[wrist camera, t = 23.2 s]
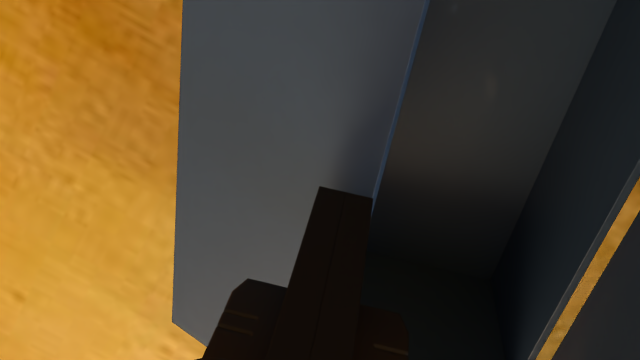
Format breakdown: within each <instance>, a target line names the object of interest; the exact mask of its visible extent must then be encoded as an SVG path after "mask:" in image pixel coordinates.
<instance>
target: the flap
mask: <svg viewBox="0 0 640 360" xmlns="http://www.w3.org/2000/svg"><path fill="white" fill-rule="evenodd" d="M429 2H430V0H183V12H182V42H181V72H180V101H179V131H178V161H177V190H176V220H175V250H174V279H173V309H172V322H173V323H174V324H176V325H177V326H178V327H180V328H181V329H183V330H184V331H185V332H187V333H188V334H190V335H191V336H192V337H194V338H195V339H197V340H198V341H199V342H201V343H202V344H204V345H205V346H206V347H207V346H208V344H209V342H210V340H211V337H212V335H213V333H214V331H215V328H216V327H217V324H218V322H219V319H220V317H221V315H222V313H223V312H224V308H225V306H226V304H227V302H228V299H229V297H230V295H231V293H232V291H233V290H234V289H235V288H237V287H238V286H239V285H240V284H241V283H243V282H244V281H245V280H246V279H247V278H249V279H253V280H257V281H262V282H266V283H270V284H274V285H278V286H282V287H288V284H289V281H290V277H291V274H292V271H293V268H294V265H295V262H296V258H297V255H298V252H299V249H300V246H301V242H302V239H303V236H304V233H305V230H306V227H307V223H308V220H309V217H310V214H311V211H312V207H313V204H314V201H315V198H316V195H317V192H318V188H319V186H322V187H326V188H330V189H335V190H339V191H343V192H348V193H352V194H356V195H361V196H365V197H369V198H373V205H372V212H373V209H374V205H375V201H376V197H377V194H378V190H379V186H380V183H381V179H382V175H383V172H384V168H385V164H386V161H387V157H388V153H389V150H390V146H391V142H392V139H393V135H394V131H395V127H396V124H397V120H398V116H399V113H400V109H401V105H402V102H403V98H404V94H405V91H406V87H407V83H408V80H409V76H410V72H411V69H412V65H413V61H414V58H415V54H416V50H417V46H418V43H419V39H420V35H421V32H422V28H423V24H424V21H425V17H426V13H427V10H428V6H429ZM371 216H372V213H371Z"/></svg>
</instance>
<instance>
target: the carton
mask: <svg viewBox="0 0 640 360" xmlns="http://www.w3.org/2000/svg"><path fill="white" fill-rule="evenodd" d="M639 177H640V0H430V2H429V6H428V10H427V13H426V17H425V21H424V24H423V28H422V32H421V35H420V39H419V43H418V46H417V50H416V54H415V58H414V61H413V65H412V69H411V72H410V76H409V80H408V83H407V87H406V91H405V94H404V98H403V102H402V105H401V109H400V113H399V116H398V120H397V124H396V127H395V131H394V135H393V139H392V142H391V146H390V150H389V153H388V157H387V161H386V164H385V168H384V172H383V175H382V179H381V183H380V186H379V190H378V194H377V197H376V201H375V205H374V209H373V212H372V216H371V221H370V229H369V237H368V244H367V252H366V260H365V268H364V275H363V283H362V291H361V299H360V304H363V305H367V306H371V307H376V308H380V309H384V310H388V311H392V312H396V313H400V315H401V317H402V319H403V321H404V323H405V325H406V328H407V330H408V332H409V353H408V356H409V360H535V359H536V358H537V356H538V354H539V352H540V351H541V349H542V347H543V345H544V344H545V342H546V340H547V338H548V337H549V335H550V333H551V331H552V330H553V328H554V326H555V324H556V322H557V321H558V319H559V317H560V315H561V314H562V312H563V310H564V308H565V307H566V305H567V303H568V301H569V300H570V298H571V296H572V294H573V293H574V291H575V289H576V287H577V286H578V284H579V282H580V280H581V279H582V277H583V275H584V273H585V272H586V270H587V268H588V266H589V265H590V263H591V261H592V259H593V258H594V256H595V254H596V252H597V251H598V249H599V247H600V245H601V244H602V242H603V240H604V238H605V236H606V235H607V233H608V231H609V229H610V228H611V226H612V224H613V222H614V221H615V219H616V217H617V215H618V214H619V212H620V210H621V208H622V207H623V205H624V203H625V201H626V200H627V198H628V196H629V194H630V193H631V191H632V189H633V187H634V186H635V184H636V182H637V180H638V179H639ZM551 360H640V211H639V213H638V214H637V216H636V218H635V219H634V221H633V223H632V224H631V226H630V228H629V229H628V231H627V233H626V235H625V236H624V238H623V240H622V241H621V243H620V245H619V246H618V248H617V250H616V251H615V253H614V255H613V256H612V258H611V260H610V262H609V263H608V265H607V267H606V268H605V270H604V272H603V273H602V275H601V277H600V278H599V280H598V282H597V283H596V285H595V287H594V288H593V290H592V292H591V294H590V295H589V297H588V299H587V300H586V302H585V304H584V305H583V307H582V309H581V310H580V312H579V314H578V315H577V317H576V319H575V321H574V322H573V324H572V326H571V327H570V329H569V331H568V332H567V334H566V336H565V337H564V339H563V341H562V342H561V344H560V346H559V347H558V349H557V351H556V353H555V354H554V356H553V358H552V359H551Z"/></svg>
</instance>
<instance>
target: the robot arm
mask: <svg viewBox="0 0 640 360" xmlns="http://www.w3.org/2000/svg"><path fill="white" fill-rule="evenodd" d="M372 205H373V198H369V197H365V196H361V195H356V194H352V193H348V192H343V191H339V190H335V189H330V188H326V187H322V186H319V188H318V192H317V195H316V198H315V201H314V204H313V207H312V211H311V214H310V217H309V220H308V223H307V227H306V230H305V233H304V236H303V239H302V242H301V246H300V249H299V252H298V255H297V258H296V262H295V265H294V268H293V271H292V274H291V277H290V281H289V284H288V287H282V286H278V285H274V284H270V283H266V282H262V281H257V280H253V279H249V278H247V279H246V280H245V281H244V282H243V283H241V284H240V285H239V286H238V287H237V288H235V289H234V290H233V291H232V293H231V295H230V297H229V299H228V302H227V304H226V306H225V308H224V312H223V313H222V315H221V317H220V319H219V322H218V324H217V327H216V328H215V331H214V333H213V335H212V337H211V340H210V342H209V344H208V346H207V348H206V351H205V353H204V355H203V357H202V358H200V359H196V360H409V356H408V353H409V332H408V330H407V328H406V325H405V323H404V321H403V319H402V317H401V315H400V313H396V312H392V311H388V310H384V309H380V308H376V307H371V306H367V305H363V304H360V299H361V291H362V283H363V275H364V268H365V260H366V252H367V244H368V237H369V229H370V221H371V213H372Z"/></svg>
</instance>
